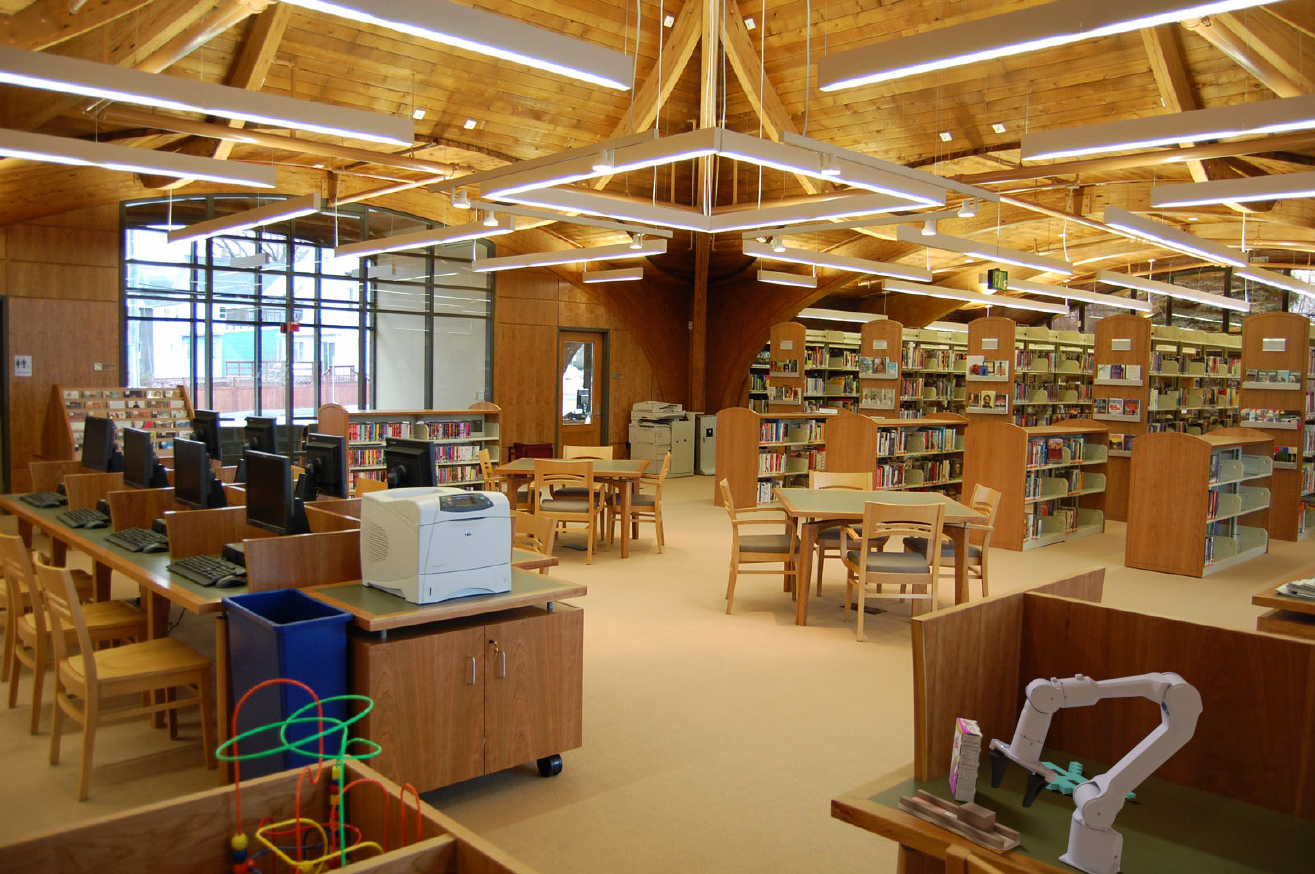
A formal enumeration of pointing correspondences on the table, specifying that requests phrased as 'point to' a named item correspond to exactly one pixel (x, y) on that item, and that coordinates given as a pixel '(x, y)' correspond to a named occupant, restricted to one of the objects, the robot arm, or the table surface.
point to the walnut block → (977, 816)
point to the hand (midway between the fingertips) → (1010, 796)
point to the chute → (957, 821)
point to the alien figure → (1069, 778)
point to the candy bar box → (965, 760)
